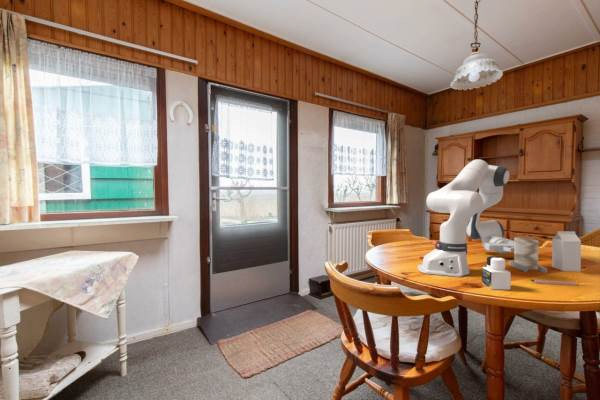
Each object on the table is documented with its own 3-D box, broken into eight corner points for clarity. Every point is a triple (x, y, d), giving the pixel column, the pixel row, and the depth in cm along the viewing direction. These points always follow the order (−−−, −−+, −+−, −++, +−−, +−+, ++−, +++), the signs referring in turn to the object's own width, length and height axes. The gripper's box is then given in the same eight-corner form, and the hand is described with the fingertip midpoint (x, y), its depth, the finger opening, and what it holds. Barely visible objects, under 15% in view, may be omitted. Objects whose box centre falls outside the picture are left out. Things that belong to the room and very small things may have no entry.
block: (523, 269, 130) (523, 240, 129) (514, 265, 138) (514, 237, 137) (538, 270, 129) (538, 240, 128) (528, 265, 136) (528, 237, 136)
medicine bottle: (481, 283, 114) (481, 254, 114) (500, 284, 113) (500, 255, 113) (490, 289, 107) (491, 259, 107) (510, 290, 106) (511, 259, 106)
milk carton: (580, 273, 126) (581, 232, 126) (562, 273, 128) (563, 232, 127) (568, 269, 133) (569, 230, 133) (551, 268, 134) (552, 230, 134)
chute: (536, 283, 114) (536, 276, 114) (503, 266, 140) (503, 260, 140) (576, 285, 111) (576, 278, 111) (535, 267, 137) (535, 261, 137)
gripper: (480, 239, 159) (491, 243, 146) (520, 240, 155) (536, 245, 141) (480, 250, 159) (491, 255, 146) (520, 251, 155) (535, 257, 141)
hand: (513, 250), depth 143 cm, fingers closed
